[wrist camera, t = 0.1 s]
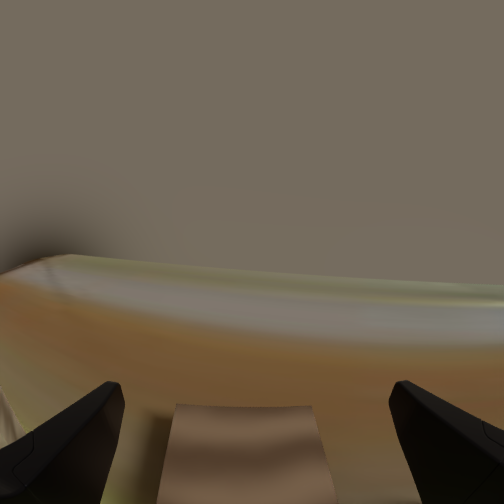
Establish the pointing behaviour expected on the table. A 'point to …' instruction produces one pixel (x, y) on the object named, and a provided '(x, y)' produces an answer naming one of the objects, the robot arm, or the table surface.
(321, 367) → the table surface
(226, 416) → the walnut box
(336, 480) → the table surface
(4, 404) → the birch block
